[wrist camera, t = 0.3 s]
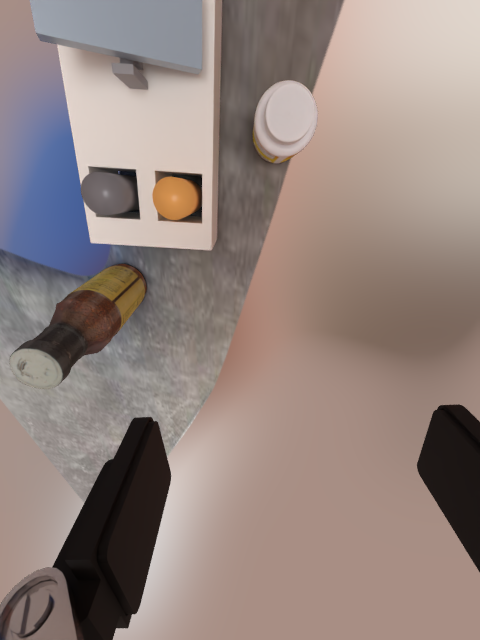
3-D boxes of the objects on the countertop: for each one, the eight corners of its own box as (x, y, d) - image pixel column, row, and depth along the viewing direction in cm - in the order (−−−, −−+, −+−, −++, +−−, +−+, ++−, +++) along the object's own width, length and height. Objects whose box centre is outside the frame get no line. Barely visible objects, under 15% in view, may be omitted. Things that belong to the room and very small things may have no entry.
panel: (83, -34, 26) (-10, -164, 16) (222, -23, 26) (211, -145, 16) (117, 233, 36) (72, 249, 26) (216, 239, 36) (207, 257, 27)
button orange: (171, 178, 31) (150, 175, 24) (203, 180, 31) (191, 178, 24) (172, 212, 32) (153, 218, 26) (203, 214, 32) (192, 221, 26)
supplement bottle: (305, 108, 30) (333, 72, 21) (296, 166, 32) (317, 157, 23) (255, 102, 30) (260, 63, 21) (249, 161, 32) (251, 149, 23)
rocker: (23, -64, 17) (11, -94, 16) (194, -9, 21) (202, -28, 19) (45, 52, 20) (37, 39, 18) (195, 83, 24) (202, 74, 22)
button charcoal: (113, 174, 31) (77, 170, 24) (146, 176, 31) (118, 173, 24) (117, 209, 32) (84, 214, 26) (148, 211, 32) (123, 216, 26)
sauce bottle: (95, 275, 38) (-35, 350, 20) (130, 253, 37) (25, 314, 19) (124, 313, 41) (32, 409, 23) (159, 294, 40) (89, 381, 22)
